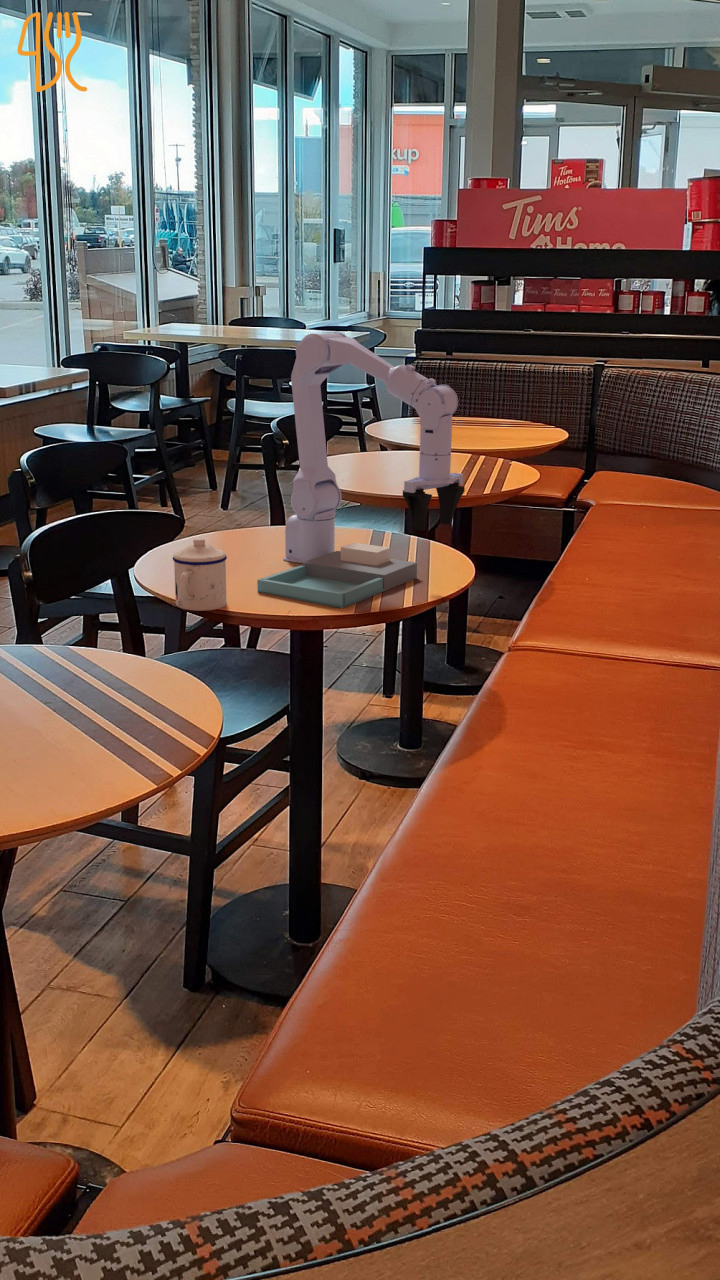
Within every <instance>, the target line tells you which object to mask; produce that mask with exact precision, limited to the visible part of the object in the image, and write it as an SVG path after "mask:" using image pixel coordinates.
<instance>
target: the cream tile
mask: <svg viewBox="0 0 720 1280" xmlns="http://www.w3.org/2000/svg"><path fill="white" fill-rule="evenodd" d="M340 551H341V560H343V561H349V562H356V563H362V564H369V565H375V566H377V565H380V564H383V563H385V562H388V561H390V559H391V547H388V546H381V545H373V544H367V543H366V544H365V543H362V542H361V543H360V542H351V543H350V544H346V545H343V546H340Z"/></svg>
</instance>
